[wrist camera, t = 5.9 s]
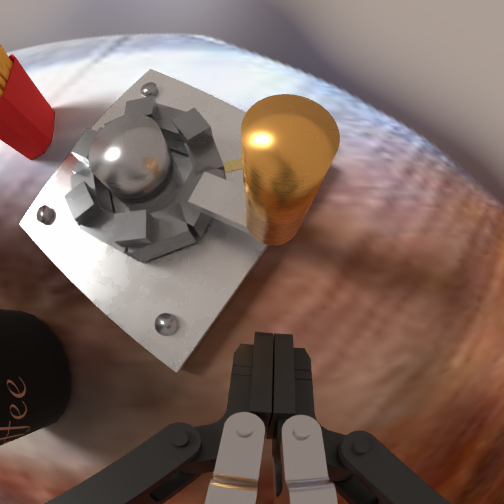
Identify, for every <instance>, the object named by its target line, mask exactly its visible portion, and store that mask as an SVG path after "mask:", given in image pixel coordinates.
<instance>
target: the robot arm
mask: <svg viewBox="0 0 504 504" xmlns="http://www.w3.org/2000/svg"><path fill="white" fill-rule="evenodd" d="M266 432H267V437H266V439H273V440H272V463H273V482H274V503H273V504H338V502H337V495H336V491H337V492H338V493H339V494H340V495H341V496H342V497H343V498H344V499H345V500H346V501H347V502H348V503H349V504H450V503H449V502H448V501H447V500H446V499H444V498H443V497H442V496H441V495H440V494H438V493H437V492H436V491H435V490H434V489H432V488H431V487H430V486H429V485H428V484H427V483H425V482H424V481H423V480H422V479H421V478H420V477H418V476H417V475H416V474H415V473H414V472H413V471H412V470H410V469H409V468H408V467H407V466H406V465H405V464H404V463H402V462H401V461H400V460H399V459H398V458H397V457H396V456H395V455H394V454H392V453H391V452H390V451H389V450H388V449H387V448H386V447H385V446H384V445H383V444H381V443H380V442H379V441H378V440H377V439H376V438H375V437H374V436H373V435H371V434H370V433H368V432H365V431H354V432H351V433H350V434H348V435H343V434H339V433H335V432H332V431H329V430H327V429H325V428H324V427H322V426H321V425H320V424H319V423H318V421H317V419H316V417H315V413H314V399H313V385H312V372H311V360H310V357H309V355H308V354H307V352H306V350H305V348H293V335H290V334H275V333H274V337H273V333H263V332H255V337H254V345H248V344H240V346H239V347H238V349H237V350H236V352H235V353H234V359H233V367H232V375H231V382H230V390H229V398H228V406H227V411H226V413H225V415H224V416H223V417H222V418H221V419H220V420H219V421H217V422H216V423H213V424H210V425H205V426H199V427H192V426H191V425H189V424H186V423H173V424H170V425H168V426H167V427H165V428H164V429H162V430H161V431H160V432H158V433H157V434H155V435H154V436H153V437H151V438H150V439H148V440H147V441H145V442H144V443H143V444H141V445H140V446H138V447H137V448H135V449H134V450H132V451H131V452H129V453H128V454H126V455H125V456H123V457H122V458H120V459H119V460H117V461H116V462H114V463H112V464H111V465H109V466H108V467H106V468H105V469H103V470H101V471H100V472H98V473H97V474H95V475H93V476H92V477H90V478H88V479H87V480H85V481H83V482H82V483H80V484H78V485H77V486H75V487H73V488H72V489H70V490H68V491H66V492H65V493H63V494H61V495H59V496H57V497H56V498H54V499H52V500H50V501H48V502H46V503H45V504H163V503H164V502H166V501H167V500H168V499H170V498H171V497H173V496H174V495H175V494H177V493H178V492H179V491H181V490H182V489H183V488H185V487H186V486H187V485H188V484H190V483H191V482H192V481H194V480H195V479H196V478H197V477H199V476H200V475H201V474H202V473H206V472H212V471H214V473H213V476H212V478H211V480H210V483H209V487H208V491H207V496H206V500H205V504H255V503H256V497H257V490H258V478H259V471H260V464H261V457H262V450H263V443H264V438H265V435H266Z"/></svg>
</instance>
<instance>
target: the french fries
mask: <svg viewBox="0 0 504 504" xmlns="http://www.w3.org/2000/svg"><path fill="white" fill-rule="evenodd" d="M54 117H55V112H54V110H53V109H52V108H51V106H50V105H49V104H48V102H47V101H46V100H45V98H44V97H43V96H42V94H41V93H40V91H39V90H38V89H37V87H36V86H35V84H34V83H33V82H32V80H31V79H30V77H29V76H28V75H27V73H26V72H25V70H24V69H23V67H22V66H21V64H20V63H19V61H18V60H17V59H16V57H15V56H14V55H13V54H12V55H10V56H9V57H8V55H7V54H6V52H5V51H4V49H3V48H2V46H1V45H0V140H2V141H3V142H5V143H6V144H8V145H9V146H11V147H12V148H14V149H15V150H16V151H18V152H19V153H21V154H22V155H24V156H25V157H27V158H28V159H30V160H31V159H33V158H35V157H37V156H39V155H41V154H43V153H45V151H46V149H47V148H48V146H49V145H50V143H51V141H52V136H53V128H54Z"/></svg>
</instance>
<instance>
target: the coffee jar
mask: <svg viewBox="0 0 504 504" xmlns="http://www.w3.org/2000/svg"><path fill="white" fill-rule="evenodd" d="M70 376H71V375H70V370H69V366H68V361H67V357H66V355H65V353H64V351H63V349H62V346H61V344H60V342H59V340H58V339H57V338H56V336H55V335H54V334H53V332H52V331H51V330H50V328H49V327H48V326H47V325H46V324H45V323H43V322H42V321H41V320H39V319H38V318H37V317H36V316H34V315H32V314H28V313H25V312H21V311H13V310H4V309H0V445H3V444H5V443H8V442H10V441H13V440H15V439H18V438H20V437H22V436H25V435H27V434H30V433H32V432H34V431H37V430H39V429H41V428H44V427H46V426H48V425H50V424H53V423H55V422H57V420H58V419H59V418H60V417H61V415H62V414H63V413H64V412H65V409H66V406H67V403H68V400H69V396H70Z"/></svg>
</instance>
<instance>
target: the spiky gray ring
mask: <svg viewBox="0 0 504 504" xmlns="http://www.w3.org/2000/svg"><path fill="white" fill-rule="evenodd" d="M131 114H141V115H145V116H148V117H150V118H152V119H153V120H154V121H155V122H156V123H157V124H158V125H159V127H160V129H161V132H162V134H163V136H164V138H165V141H166V143H167V145H168V147H169V148H171V149H174V150H177V151H179V152H182V153H185V154H188V155H189V158H190V161H191V164H192V167H193V169H192V171H191V172H190V174H189V176H188V177H187V179H186V181H185V183H184V184H183V186H182V188H181V190H180V191H179V193H178V195H177V197H176V198H175V200H174V202H173V204H172V206H170V207H167V208H164V209H162V210H159V211H157V212H154V213H151V214H150V213H149V212H148V211H147V210H139V211H131V212H124V213H116V214H113V209H112V204H111V199H110V194H109V189H108V188H107V187H106V186H105V185H104V184H103V183H102V182H101V181H100V180H99V179H98V178H97V177H96V176H95V175H94V174H93V172H92V171H91V169H90V166H89V151H90V147H91V145H92V142H93V141H94V139H95V137H96V136H97V134H98V133H99V132H100V131H101V130H102V129H103V128H102V127H100V128H99V130H98V131H95V130H92V129H89V128H87V129H86V130H85V131H84V133H83V134H82V136H81V137H80V139H79V140H78V142H77V143H76V145H75V146H74V148H73V149H72V151H71V152H72V154H73V155H74V156H75V157H76V158H77V159H78V161H77V163H76V164H75V166H74V168H73V169H72V172H73V173H74V174H73V175H71V176H70V177H71V187H72V190H71V191H69V192H68V193H67V194H66V195H65V196H64V197H65V200H66V202H67V205H68V207H69V210H70V212H71V215H72V217H73V219H74V220H75V221H76V224H77V225H79V226H80V227H79V229H81V230H83V231H84V232H86V233H88V234H90V235H91V236H93V237H95V238H96V239H98V240H100V241H102V242H104V243H105V244H107V245H109V246H111V247H113V248H115V249H116V250H118V251H120V252H122V253H124V254H126V255H127V256H129V257H131V258H133V259H135V260H137V261H139V260H142V261H143V262H144V261H147V260H150V259H152V258H155V257H158V256H160V255H163V254H166V253H169V252H171V251H174V250H177V249H179V248H182V247H185V246H188V245H190V244H193V243H196V242H197V241H196V238H195V236H197V237H199V238H201V237H202V236H203V234H204V232H205V230H206V228H207V226H208V224H209V222H210V220H211V218H212V217H213V218H215V219H217V220H219V221H222V222H224V223H226V224H228V225H231V226H233V227H235V228H237V229H240V230H242V231H244V232H246V233H249V234H251V235H252V236H253V237H254V238H255V239H256V240H257V241H259V242H261V243H263V244H266V245H272V246H274V245H276V246H279V245H281V244H284V243H286V242H288V241H290V240H291V239H292V238H293V237H294V236H295V235H296V233H297V232H298V230H299V228H300V226H301V224H302V222H303V220H304V218H305V216H306V214H307V212H308V210H309V208H310V206H311V204H312V202H313V200H314V198H315V196H316V194H317V192H318V190H319V187H320V185H321V183H322V181H323V179H324V177H325V175H326V173H327V171H328V169H329V167H330V165H331V163H332V161H333V159H334V157H335V154H336V152H337V150H338V147H339V142H340V135H339V130H338V127H337V124H336V122H335V120H334V119H333V117H332V116H331V115H330V113H329V112H328V111H327V110H326V109H324V108H323V107H322V106H321V105H319V104H318V103H316V102H314V101H312V100H310V99H308V98H305V97H302V96H297V95H290V94H282V95H274V96H270V97H267V98H264V99H262V100H260V101H258V102H257V103H255V104H254V105H253V106H252V107H251V108H250V109H249V110H248V111H247V112H246V114H245V116H244V118H243V120H242V124H241V146H242V164H243V182H244V187H242V186H239V185H237V184H235V183H232V182H230V181H227V180H226V175H225V170H224V165H223V162H222V160H221V157H220V154H219V152H218V149H217V147H216V144H215V141H214V139H213V135H212V130H211V126H210V125H209V124H208V123H207V121H206V120H205V119H204V118H203V117H202V115H201V114H200V113H199V112H198V111H197V110H196V108H195V107H194V108H192V109H191V110H189V111H187V112H185V111H182V110H179V109H175V108H172V107H168V106H165V105H161V104H158V103H156V100H155V98H154V96H150V97H145V98H140V99H135V100H130V101H126V107H125V113H124V115H123V116H126V115H131ZM121 117H122V116H121ZM118 118H120V117H118ZM116 119H117V118H116ZM114 120H115V119H114ZM112 121H113V120H112ZM112 121H109V122H107V123H105V124H104V126H106V125H107V124H109V123H110V122H112Z"/></svg>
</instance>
